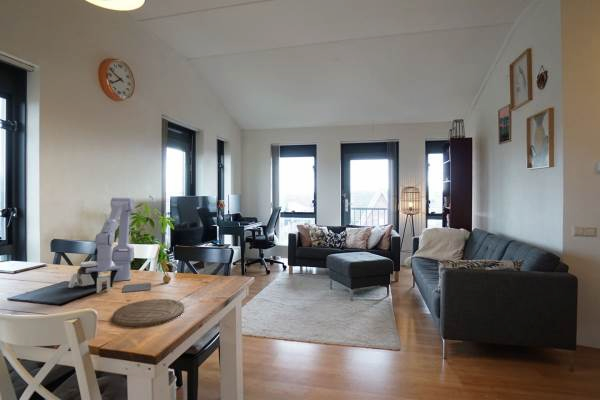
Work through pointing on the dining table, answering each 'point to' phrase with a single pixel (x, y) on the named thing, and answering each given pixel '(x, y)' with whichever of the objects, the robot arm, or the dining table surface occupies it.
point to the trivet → (148, 312)
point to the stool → (99, 282)
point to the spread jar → (84, 275)
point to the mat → (136, 287)
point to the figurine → (166, 277)
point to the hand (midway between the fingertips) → (104, 286)
